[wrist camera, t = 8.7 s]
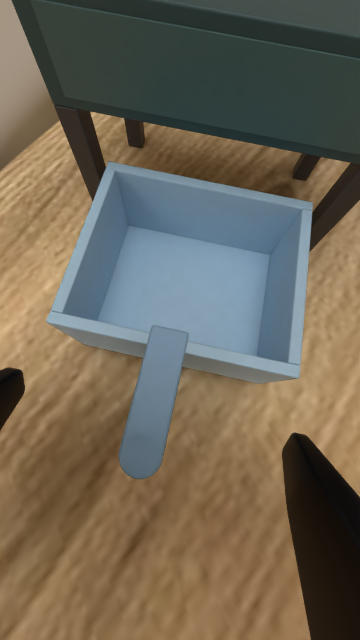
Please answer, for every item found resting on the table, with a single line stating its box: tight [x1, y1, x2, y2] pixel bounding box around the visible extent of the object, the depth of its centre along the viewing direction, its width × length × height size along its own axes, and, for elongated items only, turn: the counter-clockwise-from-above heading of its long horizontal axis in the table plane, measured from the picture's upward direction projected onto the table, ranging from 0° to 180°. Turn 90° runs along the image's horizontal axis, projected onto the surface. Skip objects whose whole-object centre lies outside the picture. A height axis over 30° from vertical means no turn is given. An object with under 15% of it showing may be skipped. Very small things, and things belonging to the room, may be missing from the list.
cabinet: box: [12, 0, 360, 252], centre depth 15 cm, size 10×16×12 cm, turn 78°
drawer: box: [46, 161, 313, 479], centre depth 13 cm, size 14×12×10 cm
